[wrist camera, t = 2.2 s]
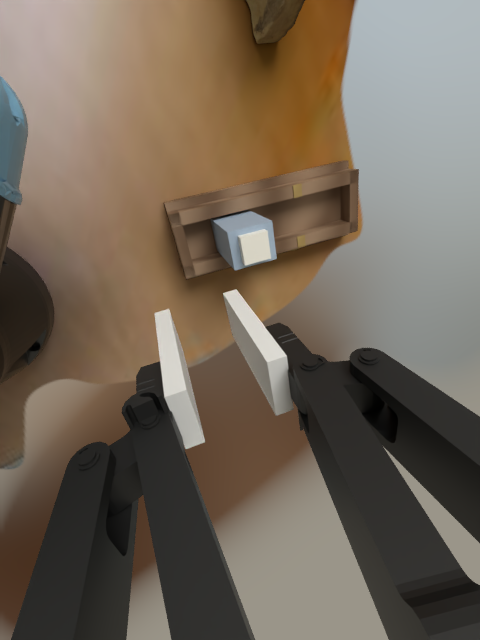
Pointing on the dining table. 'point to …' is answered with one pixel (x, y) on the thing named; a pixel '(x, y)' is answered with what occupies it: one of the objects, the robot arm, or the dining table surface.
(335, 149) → the dining table surface
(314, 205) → the wooden tray
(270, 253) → the rider
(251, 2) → the rock
